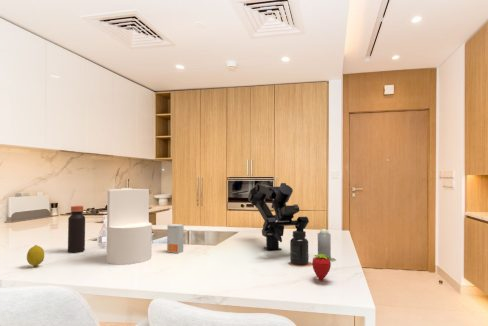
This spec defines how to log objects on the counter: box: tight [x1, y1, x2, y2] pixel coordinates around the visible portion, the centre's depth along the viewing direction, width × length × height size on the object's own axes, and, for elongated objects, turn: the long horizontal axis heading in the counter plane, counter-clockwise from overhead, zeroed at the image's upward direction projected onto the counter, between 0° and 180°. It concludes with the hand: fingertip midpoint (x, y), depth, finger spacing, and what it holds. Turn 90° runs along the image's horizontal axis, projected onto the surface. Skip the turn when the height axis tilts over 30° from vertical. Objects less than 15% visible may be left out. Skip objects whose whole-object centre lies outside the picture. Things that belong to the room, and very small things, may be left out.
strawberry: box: [311, 251, 332, 282], centre depth 109 cm, size 6×8×10 cm
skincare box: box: [166, 223, 185, 254], centre depth 149 cm, size 6×4×12 cm
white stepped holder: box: [106, 188, 153, 266], centre depth 137 cm, size 17×17×28 cm
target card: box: [288, 256, 337, 268], centre depth 130 cm, size 12×22×1 cm, turn 107°
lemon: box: [26, 244, 45, 268], centre depth 125 cm, size 6×6×8 cm
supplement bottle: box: [289, 230, 309, 265], centre depth 127 cm, size 7×7×12 cm
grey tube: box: [317, 228, 332, 260], centre depth 134 cm, size 5×5×12 cm
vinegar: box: [67, 205, 86, 254], centre depth 150 cm, size 7×7×20 cm
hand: (292, 240), depth 134 cm, fingers open, 9 cm apart
